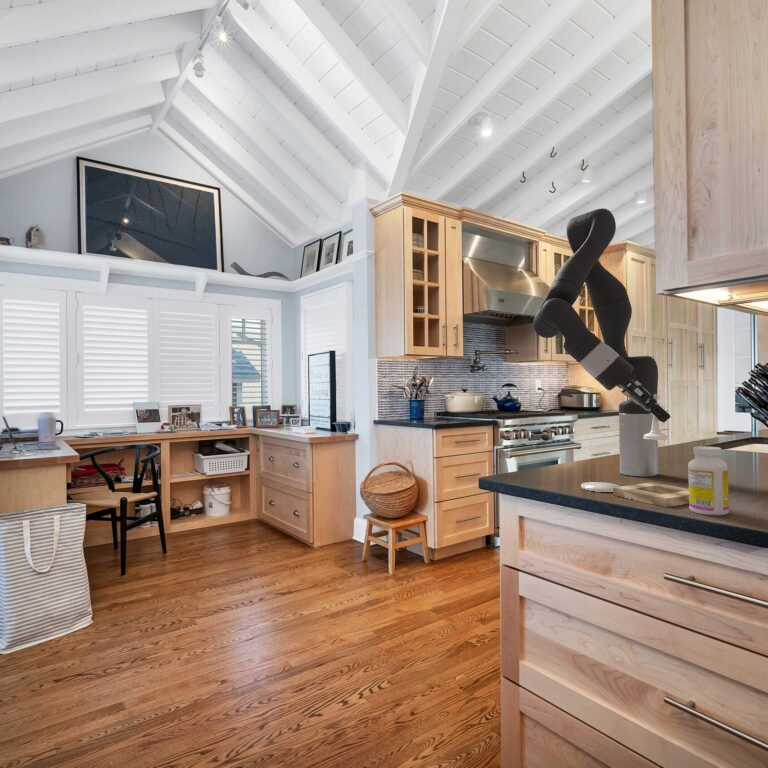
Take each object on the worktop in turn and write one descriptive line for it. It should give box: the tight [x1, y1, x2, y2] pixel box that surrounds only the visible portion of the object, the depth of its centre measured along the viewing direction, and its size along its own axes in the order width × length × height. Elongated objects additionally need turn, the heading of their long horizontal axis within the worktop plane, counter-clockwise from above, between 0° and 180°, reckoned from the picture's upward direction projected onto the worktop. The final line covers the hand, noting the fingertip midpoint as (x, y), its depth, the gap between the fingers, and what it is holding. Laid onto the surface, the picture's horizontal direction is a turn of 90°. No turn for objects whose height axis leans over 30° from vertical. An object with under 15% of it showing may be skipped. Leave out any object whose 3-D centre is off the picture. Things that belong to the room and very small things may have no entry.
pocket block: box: [612, 481, 689, 508], centre depth 113 cm, size 13×13×2 cm
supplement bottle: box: [687, 445, 730, 517], centre depth 100 cm, size 7×7×13 cm
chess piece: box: [643, 394, 669, 441], centre depth 114 cm, size 5×5×10 cm
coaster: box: [580, 481, 621, 493], centre depth 124 cm, size 9×9×1 cm
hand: (665, 418), depth 113 cm, fingers closed on chess piece
